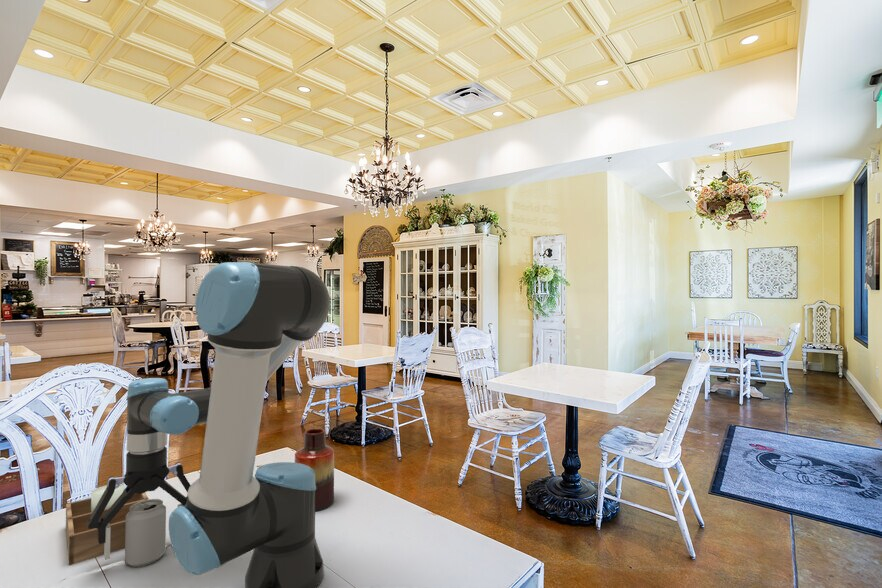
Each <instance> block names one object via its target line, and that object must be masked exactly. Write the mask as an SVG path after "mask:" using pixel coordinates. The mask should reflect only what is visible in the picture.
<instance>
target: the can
mask: <svg viewBox="0 0 882 588" xmlns="http://www.w3.org/2000/svg"><path fill="white" fill-rule="evenodd" d="M148 499H149V498H148ZM163 503H164V501H163V500H162V499H160V498H150V499H149V500H144V501H141V502H138V503H136V504H134V505H132V506H131V507H130V508H129V512H128V514H127V515H126V527H125V549H124V551H125V552H124V562H125V563H126V564H128V565H130V566H132V567H133V568H134V567H135V568H136V567H137V568H138V567H144V566H147V565H150V564H153V563H155V562H156V561H158V560H159V559H161V557H162V555H164V554H165V552H166V543H167V542H166V536H167V533H166V532H167V531H166V530H167V506H166V505H164V504H163Z"/></svg>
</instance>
